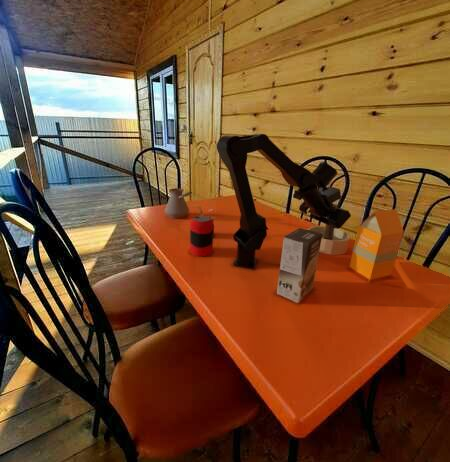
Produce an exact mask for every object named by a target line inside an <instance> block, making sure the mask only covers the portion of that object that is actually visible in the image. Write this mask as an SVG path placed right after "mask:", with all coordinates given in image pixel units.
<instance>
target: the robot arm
mask: <svg viewBox="0 0 450 462" xmlns="http://www.w3.org/2000/svg"><path fill="white" fill-rule="evenodd" d="M256 151H257V152H258V153H259V154H260V155H261V156H263V157H264V158H265V159H266V160H267V161H268V162H269V163H271V165H273V166H274V167H275V168H276V169H278V170H279V172H280V173H281V175H282V178H283V180H284V181H285V182H286V183H287V184H288V186H289V185H290V186H292V187H295V188H297V189H295V190H294V193H293V195H292V198H293V199H296V200H298V201H302V200H303V202H302V203H300V204H299V207H298V211H300V213H302V214H304V215H307V214H308V213H309V217H310V218H312V219H314V220H316V221H317V222H321V223H322V224H324V225H326V224H327V225H329V226H331V227H333V228H335V229H336V228H337V229H341V228H342V227H343V226H344V225H345V223H346V222H347V221H348V220H349V219H350V218H351V217H352V214H351V212H350V211H349V210H347V209H344V208H342V207H337V209H335V208H331V209H330V207H332V206H333V204H334V203H335V202H337V201H339V200H341V199H342V193H341V189H340V188H338V187H333V186H329V184H330V183H331V182H332V181H333V180H334V179H335V178H336V177H337V175H338V170H337V169H336V168H334V167H333V166H332V165H331V164H328V161H320V162H319V163H318V166H316V168H315V169H314V170H313V171H311V170H309V169H308V168H306V167H304V166H303V165H300V164H298V163H296V162H294V161H293V160H292V159H291V158H290V157H289V156H287V154H286V153H284V151H282V149H280V148H279V147H278V146H277V145H276V144H275V143H274V142H273V141H272V140H271V139H270V138H269V136H268V135H267V134H265V133H253V134H249V135H241V136H239V135H233V134H226V135H222V136H221V137H220V138H219V139H218V140H217V142H216V152H217V153H218V155H219V158H220V160H221V161H222V163H223V164H224V166H225V167H226V169H227V170H228V173H229V176H230V179H231V183H232V187H233V191H234V195H235V198H236V202H237V205H238V209H239V212H240V218H239V228H238V229H237V230H236V232H234V234H233V235H232V239H233V241H234V242H236V243H237V245H236V247H237V248H236V258H235V260H234V261H233V264H232V265H233V266H235V267H240V268H245V269H251V270H254V269H255V266H256V265H257V262H258V257H257V258H256V252H257V251H259V250H261V248H262V245H263V243H264V241H265V239H266V237H267V236H268V230H269V228H268V227H267V226H268V225H267V220H266V217H264V216H263V215H261V214H259V213H258V212H257V208H256V204H255V201H254V196H253V193H252V188H251V184H250V181H249V176H248V172H247V169H246V167H247V162H248V154H250V153H254V152H256Z"/></svg>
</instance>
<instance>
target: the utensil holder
mask: <svg viewBox="0 0 450 462" xmlns="http://www.w3.org/2000/svg"><path fill="white" fill-rule="evenodd" d="M197 206H198V212H199V214H200V216H203V214H202V213H203V211H202V207H201V204H199V205H197ZM207 213H208V217H209V218H210V219H211V220H212V222H213V236H214V235H215V223H214V217H212V216H210V214H211V212H210V210H208V212H207ZM212 213H215V210H212Z"/></svg>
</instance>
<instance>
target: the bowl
mask: <svg viewBox="0 0 450 462" xmlns="http://www.w3.org/2000/svg"><path fill="white" fill-rule="evenodd" d="M325 226H326V225H316V226H315V225H313V226H311V227H308V228H307V230H311V231H314V232H318V233H321V234H322V239H321V244H320V250H319V254H323V255H329V256H330V255H331V256H338V255H344V254H346V253H347V252H348V250H349V245H350V241H351V235H350V234H349V233H348V232H347V231H345V230H343V229H341V228H339V229H337V228H336V229H335V228H334V234H333V240H328V239H324V234H325Z"/></svg>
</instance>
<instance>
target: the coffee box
mask: <svg viewBox="0 0 450 462" xmlns="http://www.w3.org/2000/svg"><path fill="white" fill-rule="evenodd" d="M321 239H322V234H321V233H318V232H314V231H311V230H308V229H305V228H301V227H299V228H297V229H295V230H293V231H292V232H290V233H288V234H286V235H284V236H283V242H282V250H281V257H280V265H279V272H278V273H279V274H278V280H277V290H276V294H277V295H278V296H281V297H284V298H286V299H288V300H290V301H292V302H294V303H296V304H300V303H301V302H302V301H303V299H304V298H306V296H307V295H308V294H309V293H310V292H311V291H312V290H313V288H314V283H315V278H316V274H317V273H316V272H317V268H318V261H319V256H320V252H319V250H320V244H321Z"/></svg>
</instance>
